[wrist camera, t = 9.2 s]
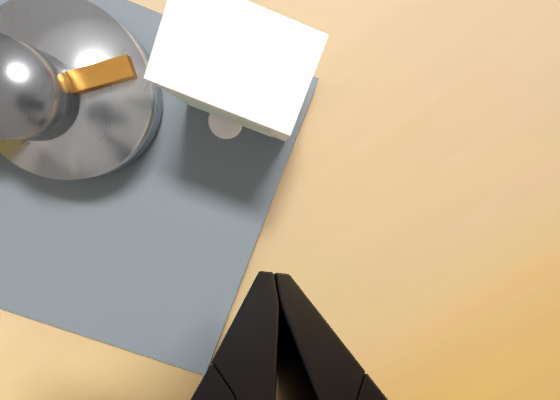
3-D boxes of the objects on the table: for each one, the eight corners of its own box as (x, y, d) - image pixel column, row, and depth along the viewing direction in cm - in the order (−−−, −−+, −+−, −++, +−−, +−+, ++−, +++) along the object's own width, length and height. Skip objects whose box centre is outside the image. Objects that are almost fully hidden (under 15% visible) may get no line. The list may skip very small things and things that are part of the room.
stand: (208, 365, 21) (175, 468, 14) (-151, 246, 20) (-384, 297, 13) (316, 82, 18) (341, 39, 12) (-88, -83, 17) (-341, -247, 10)
